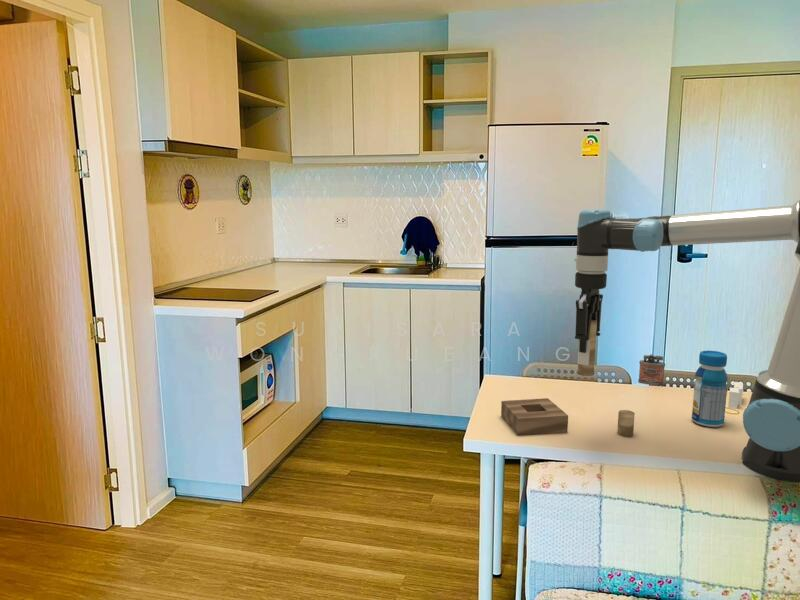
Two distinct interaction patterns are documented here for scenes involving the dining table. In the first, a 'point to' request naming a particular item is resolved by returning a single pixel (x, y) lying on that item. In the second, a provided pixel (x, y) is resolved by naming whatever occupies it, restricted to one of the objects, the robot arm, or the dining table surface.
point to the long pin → (589, 369)
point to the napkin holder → (735, 395)
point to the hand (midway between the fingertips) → (586, 362)
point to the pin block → (534, 417)
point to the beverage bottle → (710, 389)
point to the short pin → (625, 423)
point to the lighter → (651, 370)
